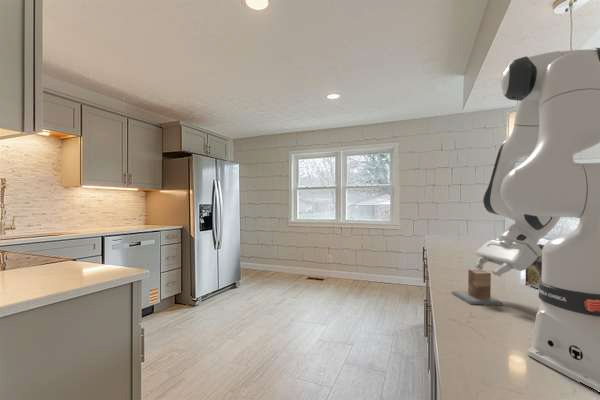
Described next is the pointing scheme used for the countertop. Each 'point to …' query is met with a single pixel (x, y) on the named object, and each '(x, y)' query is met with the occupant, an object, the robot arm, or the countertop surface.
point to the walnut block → (479, 284)
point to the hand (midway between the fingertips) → (485, 271)
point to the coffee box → (535, 271)
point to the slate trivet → (476, 299)
